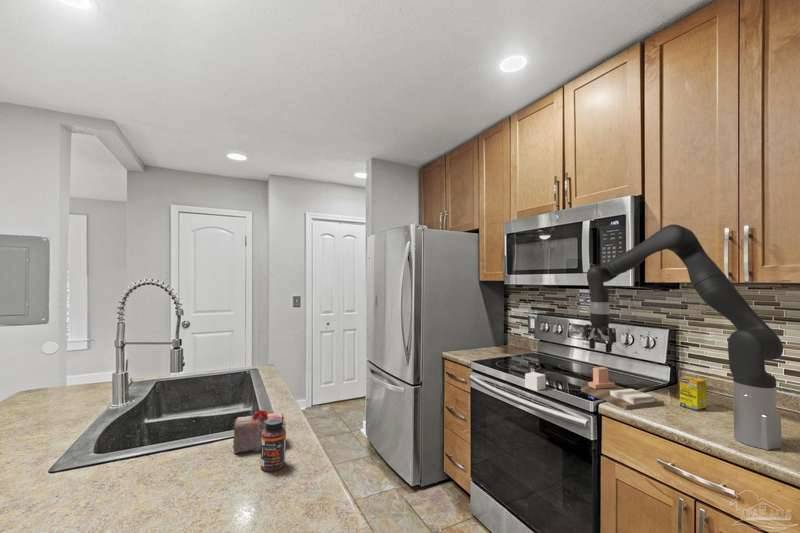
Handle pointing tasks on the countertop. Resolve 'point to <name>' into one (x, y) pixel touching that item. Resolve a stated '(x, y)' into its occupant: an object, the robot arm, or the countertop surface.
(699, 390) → the supplement box
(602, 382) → the stub
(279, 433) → the supplement bottle
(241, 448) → the pink box with bow
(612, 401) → the board
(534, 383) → the white cube
